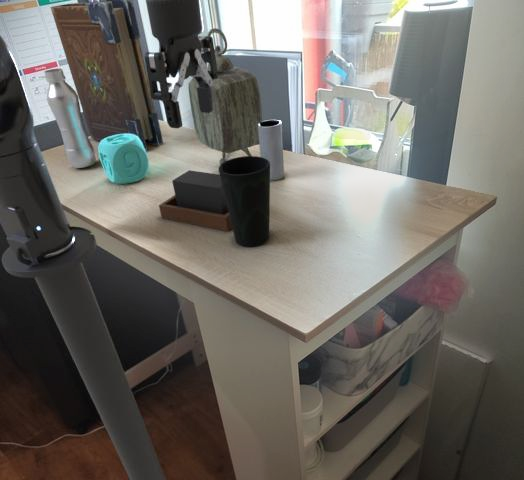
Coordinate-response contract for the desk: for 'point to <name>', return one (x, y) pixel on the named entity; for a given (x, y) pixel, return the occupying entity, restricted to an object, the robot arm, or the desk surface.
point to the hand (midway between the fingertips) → (191, 119)
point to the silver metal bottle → (69, 120)
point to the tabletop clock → (228, 107)
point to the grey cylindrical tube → (272, 146)
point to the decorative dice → (123, 158)
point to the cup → (247, 198)
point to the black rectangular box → (200, 192)
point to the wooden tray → (194, 216)
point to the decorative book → (108, 68)
